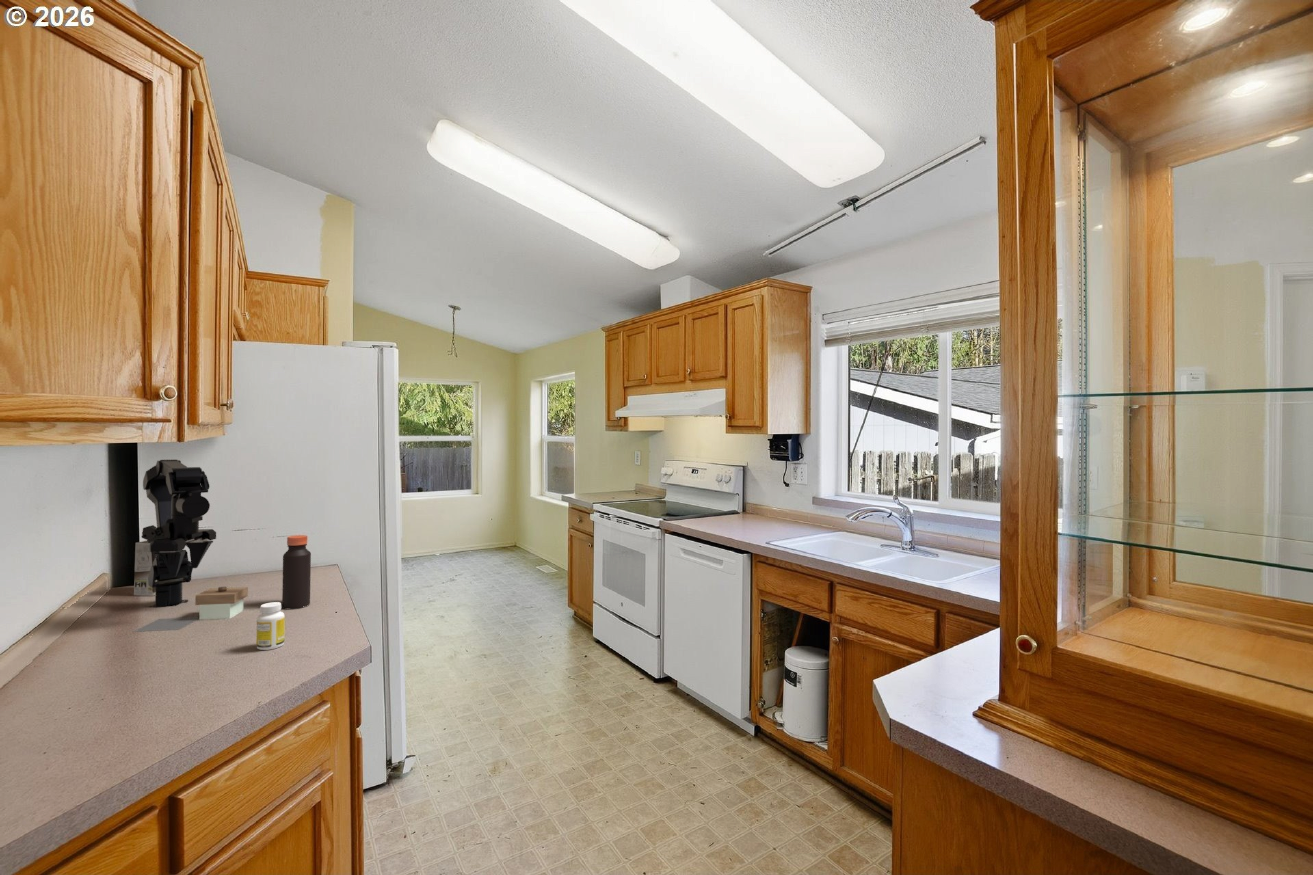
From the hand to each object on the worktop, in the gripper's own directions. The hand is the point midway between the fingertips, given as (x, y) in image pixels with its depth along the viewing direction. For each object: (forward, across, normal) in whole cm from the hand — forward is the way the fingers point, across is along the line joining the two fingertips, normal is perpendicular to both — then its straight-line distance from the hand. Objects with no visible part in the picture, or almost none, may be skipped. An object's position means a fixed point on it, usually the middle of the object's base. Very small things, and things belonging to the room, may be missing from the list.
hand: (184, 572), depth 152 cm
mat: (+12, +8, +1) cm, 14 cm away
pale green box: (+12, +2, +10) cm, 16 cm away
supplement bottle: (+12, +27, +32) cm, 44 cm away
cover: (+8, +2, +10) cm, 13 cm away
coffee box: (+12, -28, -22) cm, 38 cm away
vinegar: (+12, -6, +25) cm, 28 cm away
